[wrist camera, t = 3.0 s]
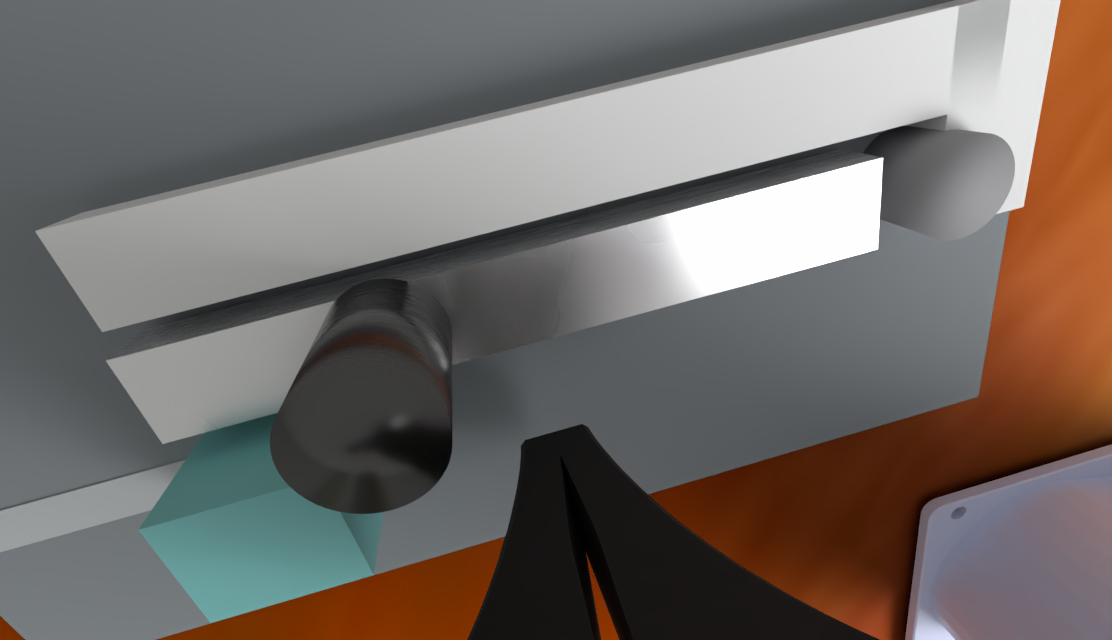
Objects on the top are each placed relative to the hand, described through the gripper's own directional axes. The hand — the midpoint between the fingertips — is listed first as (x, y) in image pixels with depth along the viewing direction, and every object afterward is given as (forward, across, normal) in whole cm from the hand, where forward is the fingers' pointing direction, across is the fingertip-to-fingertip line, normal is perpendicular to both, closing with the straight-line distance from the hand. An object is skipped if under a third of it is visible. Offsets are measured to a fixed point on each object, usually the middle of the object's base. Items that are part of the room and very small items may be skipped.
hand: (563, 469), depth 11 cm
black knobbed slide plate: (+2, 0, -4) cm, 4 cm away
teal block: (+2, +5, -1) cm, 6 cm away
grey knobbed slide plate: (+2, +1, -4) cm, 5 cm away
